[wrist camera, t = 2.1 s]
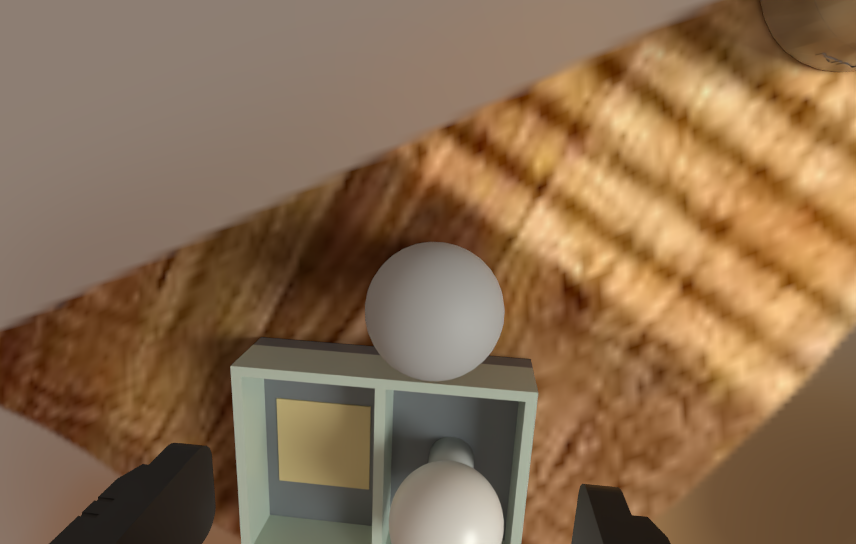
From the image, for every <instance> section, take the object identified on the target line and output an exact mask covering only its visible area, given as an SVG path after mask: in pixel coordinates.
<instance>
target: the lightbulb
mask: <svg viewBox="0 0 856 544" xmlns="http://www.w3.org/2000/svg"><path fill="white" fill-rule="evenodd" d="M365 321H366V325H367V329H368V333H369V335H370V338H371V340H372V342H373V344H374V347H375V348H376V350H377V351H378V353H379V354H380V355H381V357H382V358H383V359H384V360H385V361H386V362H387V363H388V364H389V365H390V366H392V367H393V368H394V369H396V370H397V371H399V372H400V373H402V374H405V375H407V376H409V377H412V378H415V379H419V380H423V381H445V380H451V379H454V378H457V377H460V376H463V375H464V374H466V373H468V372H470V371H472V370H473V369H475V368H476V367H477V366H478V365H479V364H481V363H482V362H483V361H484V360H485V359H486V358H487V357H488V355H489V354H490V353H491V352H492V351H493V349H494V347H495V345H496V343H497V341H498V339H499V337H500V334H501V331H502V327H503V323H504V303H503V297H502V292H501V289H500V286H499V284H498V281H497V279H496V277H495V276H494V274H493V273H492V271H491V270H490V268H489V267H488V266H487V265H486V264H485V263H484V262H483V261H482V260H481V259H480V258H479V257H477V256H476V255H474V254H473V253H471V252H470V251H468V250H466V249H464V248H461V247H459V246H457V245H453V244H448V243H444V242H426V243H419V244H415V245H412V246H409V247H407V248H404V249H402V250H400V251H399V252H397V253H396V254H394V255H392V256H391V257H390V258H389V259H388V260H387V261H386V262H385V263H384V264H383V265H382V266H381V268H380V269H379V270H378V272H377V273H376V275H375V276H374V278H373V279H372V282H371V284H370V287H369V289H368V292H367V298H366V303H365Z"/></svg>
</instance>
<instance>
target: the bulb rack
mask: <svg viewBox="0 0 856 544" xmlns="http://www.w3.org/2000/svg"><path fill="white" fill-rule="evenodd" d="M230 368H231V384H232V400H233V417H234V433H235V449H236V465H237V481H238V497H239V513H240V530H241V544H521V540H522V531H523V522H524V513H525V504H526V496H527V487H528V478H529V469H530V460H531V452H532V443H533V434H534V425H535V416H536V408H537V399H538V390H537V385H536V381H535V377H534V372H533V368H532V363H531V359H520V358H508V357H496V356H488V357H487V358H486V359H485V360H484V361H483V362H482V363H481V364H479V365H478V366H477V367H476V368H475V369H473V370H472V371H470V372H468V373H466V374H464V375H463V376H460V377H457V378H454V379H451V380H445V381H423V380H419V379H415V378H412V377H409V376H407V375H405V374H402V373H400V372H399V371H397V370H396V369H394V368H393V367H392V366H390V365H389V364H388V363H387V362H386V361H385V360H384V359H383V358H382V357H381V355H380V354H379V353H378V351H377V350H376V348H375V347H374V346H362V345H350V344H337V343H325V342H313V341H301V340H289V339H276V338H264V337H261V338H260V339H259V340H258V341H257V342H255V343H254V344H253V345H252V346H251V347H250V348H249V349H248V350H247V351H246V352H245V353H244V354H243V355H242V356H240V357H239V358H238V359H237V360H236V361H235V362H234V363H233V364H232V365H231V366H230Z"/></svg>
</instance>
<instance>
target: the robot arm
mask: <svg viewBox="0 0 856 544" xmlns="http://www.w3.org/2000/svg"><path fill="white" fill-rule="evenodd" d="M760 1H761V6H762V11H763V15H764V19H765V21H766V23H767V26H768V28H769V30H770V32H771V34H772V36H773V37H774V39H775V40H776V41H777V42H778V43H779V45H780V46H781V47H782V48H783V49H784V51H785V52H787V53H788V54H790V55H791V56H792V57H794V58H795V59H797V60H798V61H799V62H801V63H804V64H806V65H809V66H811V67H814V68H816V69H820V70H827V71H834V72H847V71H856V0H760ZM214 515H215V492H214V479H213V465H212V454H211V450H210V448H209V447H208V446H202V445H192V444H182V443H171V444H170V445H168V446H167V447H166V448H165V449H164V450H163V451H162V452H161V453H160V454H159V455H158V456H157V457H156V458H155V459H154V460H153V461H152V462H151V463H150V464H149V465H145V464H142V465H141V466H139V467H137V468H135V469H134V470H132V471H130V472H128V473H127V474H125V475H123V476H121V477H120V478H118V479H117V480H115V482H113V483H112V484H111V485H110V486H109V487H108V488H107V489H106V490H105V491H104V492H103V493H102V494H101V495H100V496H99V497H98V500H97V501H94V502H93V503H91V504H90V505H89V506H88V507H87V508H86V509H85V510H84V511H83V512H82V515H81V516H78V517H77V518H76V519H75V520H74V521H73V522H71V523H70V524H69V525H68V526H67V527H66V528H65V529H64V530H63V531H62V532H61V533H60V534H59V535H58V536H57V537H56V538H55V539H54V540H53V541H52V542H51V543H50V544H202V543H203V541H204V540H205V538H206V537H207V535H208V533H209V531H210V529H211V526H212V523H213V519H214ZM571 544H670V541H669V540H668V538H667V537H666V536H665V534H664V533H663V532H662V531H661V530H660V529H658V527H657V526H656V525H655V524H654V523H653V522H652V521H651V520H650V519H649V518H648V517H643V516H633V515H631V513H630V510H629V508H628V505H627V503H626V500H625V498H624V495H623V493H622V491H621V489H620V488H619V487H610V486H599V485H589V484H582V485H581V486H580V489H579V494H578V501H577V508H576V515H575V522H574V529H573V536H572V543H571Z"/></svg>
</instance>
